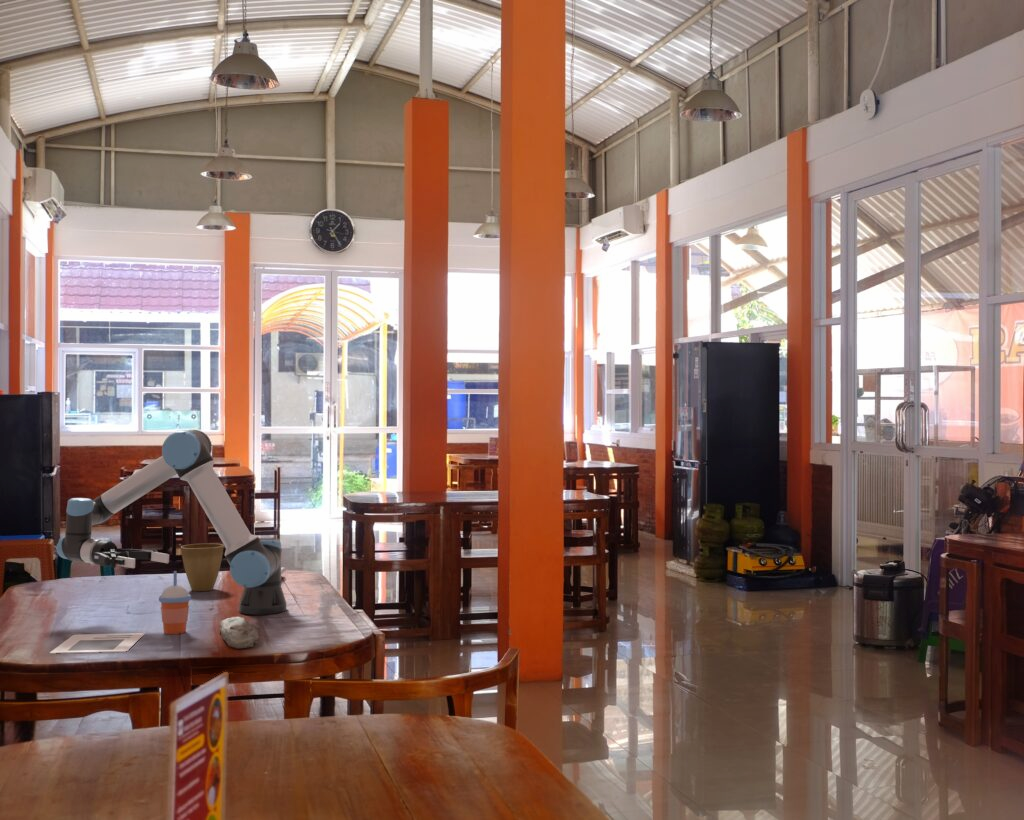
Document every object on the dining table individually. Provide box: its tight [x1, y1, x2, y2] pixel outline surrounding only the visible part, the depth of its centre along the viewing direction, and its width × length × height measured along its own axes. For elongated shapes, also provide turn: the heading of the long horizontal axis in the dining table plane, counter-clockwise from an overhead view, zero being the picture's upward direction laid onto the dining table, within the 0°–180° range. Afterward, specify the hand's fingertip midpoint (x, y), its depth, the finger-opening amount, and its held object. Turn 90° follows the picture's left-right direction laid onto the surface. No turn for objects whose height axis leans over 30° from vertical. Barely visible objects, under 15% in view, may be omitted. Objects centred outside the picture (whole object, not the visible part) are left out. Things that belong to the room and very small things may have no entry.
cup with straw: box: [158, 570, 192, 635], centre depth 308 cm, size 9×9×18 cm
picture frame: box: [49, 632, 146, 655], centre depth 292 cm, size 20×22×1 cm
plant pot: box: [180, 543, 225, 592], centre depth 377 cm, size 15×15×16 cm
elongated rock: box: [218, 616, 260, 649], centre depth 302 cm, size 35×5×10 cm
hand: (151, 561), depth 312 cm, fingers open, 13 cm apart
